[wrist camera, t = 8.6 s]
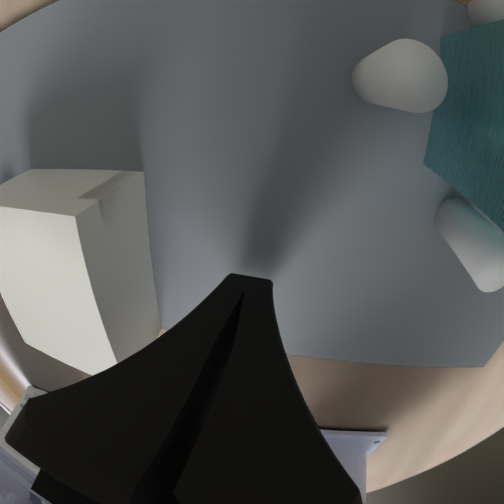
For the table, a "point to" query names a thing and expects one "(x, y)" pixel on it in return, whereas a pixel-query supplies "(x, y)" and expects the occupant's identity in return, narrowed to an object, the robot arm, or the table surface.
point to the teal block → (472, 118)
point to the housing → (78, 264)
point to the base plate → (274, 159)
